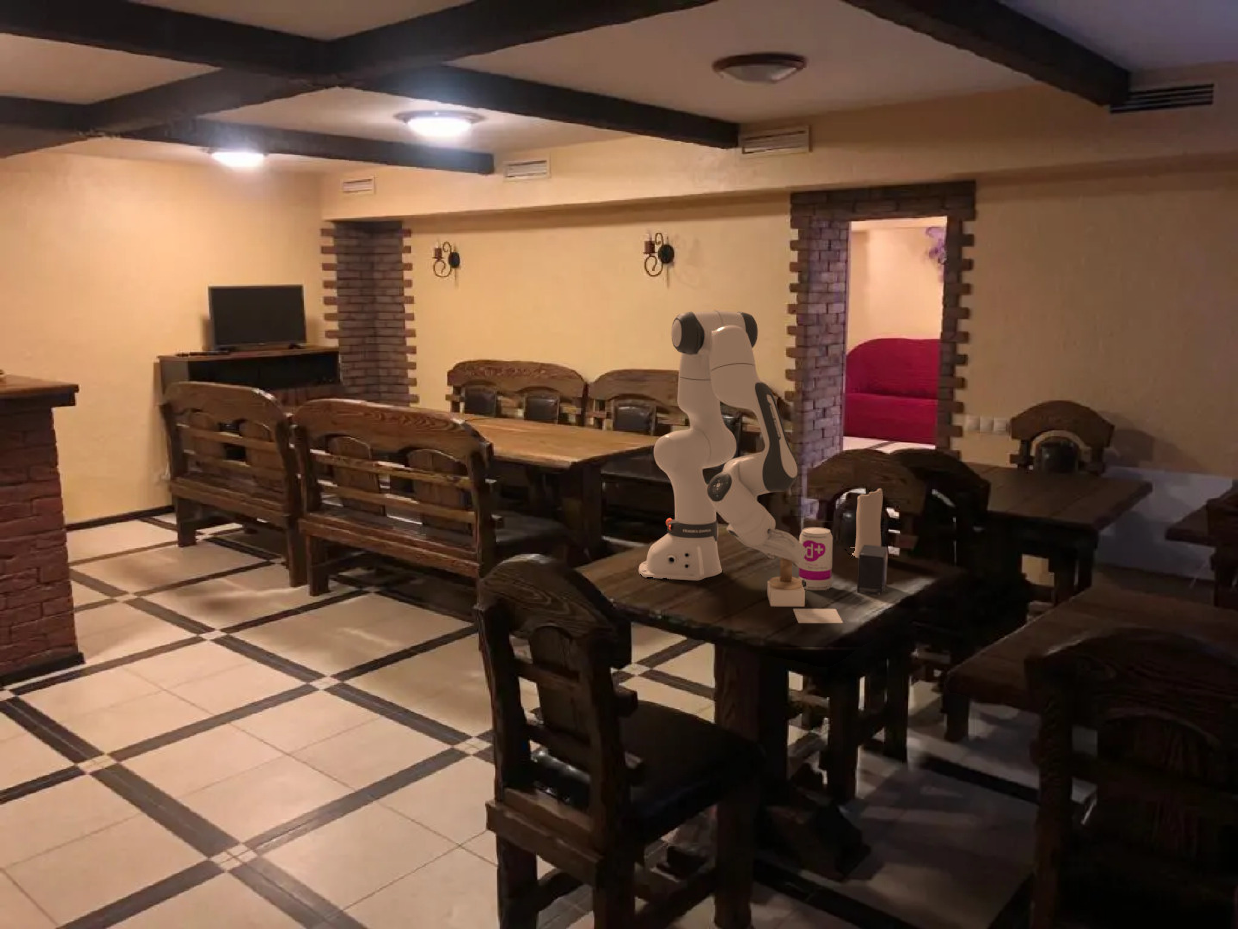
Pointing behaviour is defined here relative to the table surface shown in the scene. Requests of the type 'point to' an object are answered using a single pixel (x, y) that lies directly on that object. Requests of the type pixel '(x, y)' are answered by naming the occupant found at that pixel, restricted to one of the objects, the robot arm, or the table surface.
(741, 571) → the table surface
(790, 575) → the wooden peg stand
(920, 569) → the table surface
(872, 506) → the beige wavy upright slab
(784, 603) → the dish
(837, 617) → the mat
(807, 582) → the supplement can
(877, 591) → the small box
